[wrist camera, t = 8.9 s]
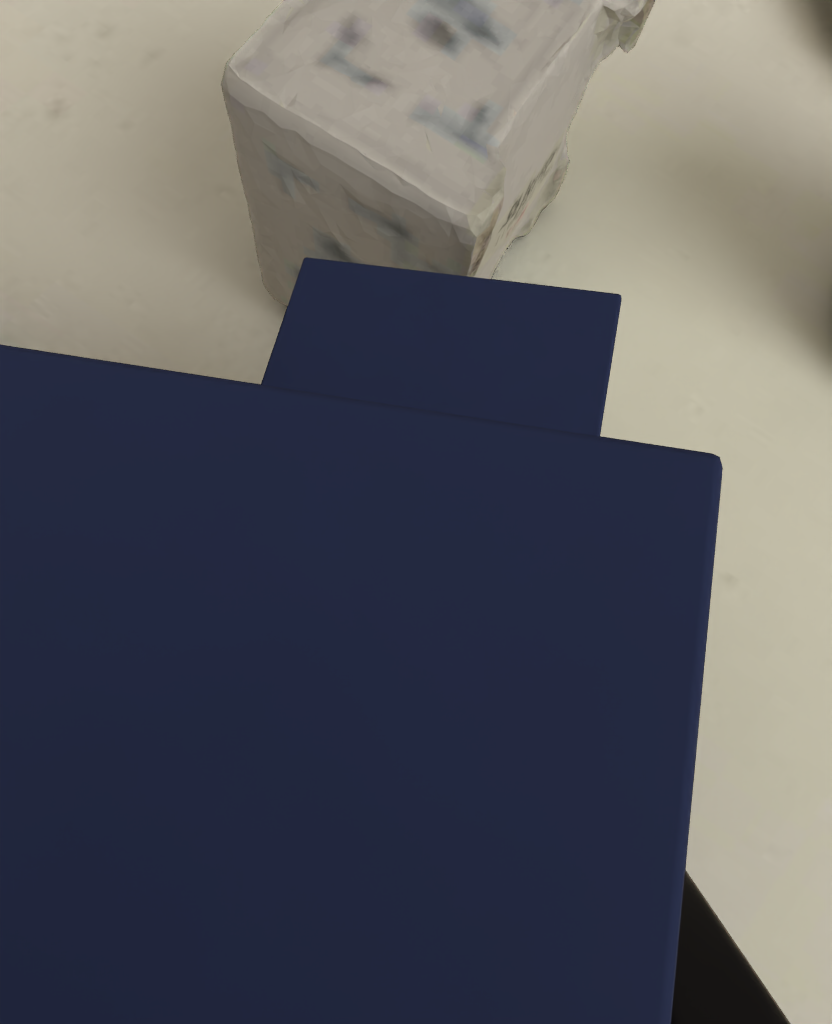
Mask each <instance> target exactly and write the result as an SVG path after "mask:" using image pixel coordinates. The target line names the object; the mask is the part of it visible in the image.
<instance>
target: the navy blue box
mask: <svg viewBox="0 0 832 1024" xmlns="http://www.w3.org/2000/svg"><path fill="white" fill-rule="evenodd" d="M620 305H621V295H619V294H613V293H604V292H596V291H587V290H579V289H571V288H562V287H554V286H545V285H537V284H528V283H520V282H511V281H503V280H494V279H486V278H477V277H469V276H460V275H452V274H444V273H435V272H427V271H418V270H410V269H401V268H393V267H384V266H376V265H367V264H359V263H350V262H342V261H333V260H325V259H317V258H308V257H306V258H304V259H303V262H302V265H301V268H300V271H299V274H298V277H297V280H296V283H295V286H294V289H293V292H292V295H291V298H290V300H289V303H288V306H287V309H286V312H285V315H284V318H283V321H282V324H281V327H280V330H279V333H278V336H277V339H276V342H275V345H274V348H273V350H272V353H271V356H270V359H269V362H268V365H267V368H266V371H265V374H264V377H263V380H262V383H261V385H260V384H254V383H247V382H241V381H234V380H228V379H221V378H215V377H208V376H201V375H195V374H188V373H182V372H175V371H169V370H162V369H156V368H149V367H143V366H136V365H130V364H123V363H117V362H110V361H103V360H97V359H90V358H84V357H77V356H71V355H64V354H58V353H51V352H45V351H38V350H32V349H25V348H18V347H12V346H5V345H0V1024H671V1017H672V1006H673V996H674V985H675V974H676V963H677V953H678V942H679V931H680V920H681V910H682V899H683V888H684V877H685V867H686V856H687V845H688V834H689V824H690V813H691V802H692V791H693V781H694V770H695V759H696V748H697V738H698V727H699V716H700V705H701V695H702V684H703V673H704V662H705V652H706V641H707V630H708V619H709V609H710V598H711V587H712V576H713V566H714V555H715V544H716V534H717V523H718V512H719V501H720V491H721V480H722V469H723V468H722V464H721V461H720V457H718V456H716V455H714V454H711V453H705V452H698V451H692V450H685V449H679V448H672V447H666V446H659V445H653V444H646V443H639V442H633V441H626V440H620V439H613V438H607V437H600V432H601V426H602V420H603V413H604V407H605V401H606V394H607V388H608V382H609V375H610V369H611V363H612V356H613V350H614V343H615V337H616V331H617V324H618V318H619V312H620Z"/></svg>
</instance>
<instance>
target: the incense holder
mask: <svg viewBox="0 0 832 1024" xmlns="http://www.w3.org/2000/svg"><path fill="white" fill-rule="evenodd" d="M654 2H655V0H283V1H282V2H281V3H280V4H279V5H278V6H277V7H276V9H275V10H274V11H273V12H272V13H271V14H270V15H269V16H268V17H267V18H266V20H265V21H264V22H263V24H262V25H261V27H260V28H259V29H258V30H257V31H256V32H255V33H254V34H252V35H251V36H250V38H249V39H248V40H247V41H246V42H245V43H244V44H243V45H242V46H241V47H240V48H239V49H238V50H237V51H236V52H235V53H234V55H233V56H232V57H231V58H230V59H229V61H228V62H227V63H226V66H225V71H224V75H223V79H222V83H221V86H222V91H223V95H224V100H225V104H226V108H227V112H228V115H229V119H230V122H231V127H232V134H233V140H234V145H235V149H236V154H237V162H238V167H239V171H240V176H241V180H242V184H243V188H244V192H245V196H246V199H247V202H248V208H249V215H250V219H251V222H252V226H253V233H254V239H255V245H256V251H257V256H258V261H259V265H260V269H261V274H262V281H263V283H264V286H265V288H266V289H267V290H268V292H269V293H270V294H271V296H272V297H273V298H274V299H275V300H277V301H279V302H280V303H282V304H284V305H286V306H288V303H289V300H290V298H291V295H292V292H293V289H294V286H295V283H296V280H297V277H298V274H299V271H300V268H301V265H302V262H303V259H304V258H306V257H308V258H317V259H325V260H333V261H342V262H350V263H359V264H367V265H376V266H384V267H393V268H401V269H410V270H418V271H427V272H435V273H444V274H452V275H460V276H469V277H477V278H486V279H491V277H492V275H493V273H494V271H495V269H496V267H497V265H498V263H499V261H500V259H501V257H502V255H503V254H504V252H505V251H506V249H507V247H509V246H510V244H511V242H512V241H513V239H515V238H517V237H521V236H524V235H526V234H528V233H529V232H530V230H531V229H532V228H533V226H534V224H535V222H536V220H537V218H538V216H539V214H540V212H541V211H542V210H543V209H544V208H545V207H546V206H547V205H548V204H549V203H550V202H551V201H552V200H553V199H554V198H555V197H556V195H557V193H558V191H559V189H560V187H561V184H562V182H563V180H564V177H565V175H566V173H567V169H568V165H569V161H570V160H569V157H568V151H567V141H566V137H567V132H568V129H569V127H570V124H571V122H572V120H573V118H574V116H575V114H576V111H577V109H578V107H579V104H580V102H581V100H582V97H583V95H584V92H585V90H586V87H587V85H588V82H589V80H590V78H591V76H592V75H593V73H594V71H595V69H596V68H597V66H598V65H599V63H600V62H601V61H603V60H604V59H605V58H607V57H608V56H609V55H610V54H611V53H612V52H613V51H614V50H615V48H616V47H618V46H620V47H621V48H622V49H623V50H624V52H626V53H628V52H629V51H630V50H631V49H632V48H633V47H634V46H635V44H636V42H637V40H638V38H639V36H640V33H641V31H642V29H643V27H644V25H645V22H646V20H647V18H648V16H649V13H650V11H651V9H652V7H653V5H654Z"/></svg>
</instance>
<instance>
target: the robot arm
mask: <svg viewBox="0 0 832 1024" xmlns="http://www.w3.org/2000/svg"><path fill="white" fill-rule="evenodd" d="M671 1024H790V1022H789V1021H788V1019H787V1018H786V1016H785V1015H784V1014H783V1012H782V1011H781V1009H780V1008H779V1006H778V1005H777V1003H776V1002H775V1000H774V999H773V997H772V996H771V994H770V993H769V992H768V990H767V989H766V987H765V986H764V984H763V983H762V981H761V980H760V978H759V977H758V975H757V974H756V973H755V971H754V970H753V968H752V967H751V965H750V964H749V962H748V961H747V959H746V958H745V956H744V955H743V953H742V952H741V951H740V949H739V948H738V946H737V945H736V943H735V942H734V940H733V939H732V937H731V936H730V934H729V933H728V932H727V930H726V929H725V927H724V926H723V924H722V923H721V921H720V920H719V918H718V917H717V915H716V914H715V912H714V911H713V910H712V908H711V907H710V905H709V904H708V902H707V901H706V899H705V898H704V896H703V895H702V893H701V892H700V891H699V889H698V888H697V886H696V885H695V883H694V882H693V880H692V879H691V877H690V876H689V874H688V873H687V871H686V870H685V877H684V888H683V899H682V910H681V920H680V931H679V942H678V953H677V963H676V974H675V985H674V996H673V1006H672V1017H671Z"/></svg>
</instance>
